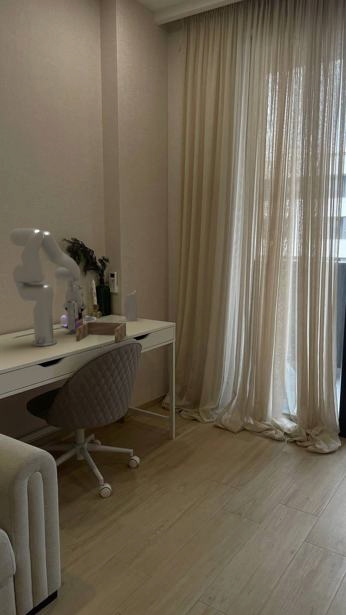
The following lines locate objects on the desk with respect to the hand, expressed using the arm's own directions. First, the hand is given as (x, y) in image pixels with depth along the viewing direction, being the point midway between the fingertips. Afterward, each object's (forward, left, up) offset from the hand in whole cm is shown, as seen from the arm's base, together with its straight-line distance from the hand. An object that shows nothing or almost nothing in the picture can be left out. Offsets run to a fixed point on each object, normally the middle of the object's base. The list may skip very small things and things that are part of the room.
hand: (75, 318), depth 264 cm
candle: (+40, -20, -8) cm, 45 cm away
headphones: (+17, +3, -8) cm, 19 cm away
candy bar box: (0, 0, -5) cm, 5 cm away
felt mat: (0, 0, -8) cm, 8 cm away
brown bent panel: (-13, -20, -8) cm, 25 cm away
